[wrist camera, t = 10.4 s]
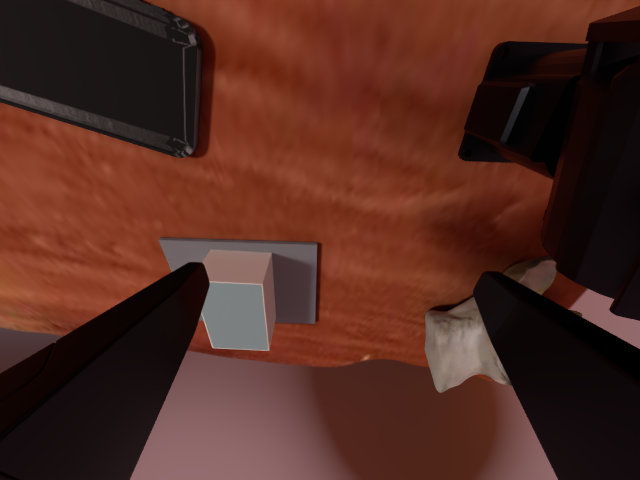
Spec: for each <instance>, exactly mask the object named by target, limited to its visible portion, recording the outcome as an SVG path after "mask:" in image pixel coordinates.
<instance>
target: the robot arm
mask: <svg viewBox="0 0 640 480" xmlns="http://www.w3.org/2000/svg"><path fill="white" fill-rule="evenodd" d="M585 41H589V42H588V44H574V43H545V42H515V41H508V42H503V43H500V44H498V45H497V46H496V47H495V48H494V50H493V52H492V54H491V57H490V60H489V63H488V66H487V69H486V72H485V75H484V78H483V81H482V83H481V84H480V85H479V86H478V88H477V91H476V94H475V97H474V100H473V103H472V106H471V109H470V112H469V115H468V118H467V121H466V124H465V127H464V129H465V134H464V137H463V140H462V143H461V146H460V149H459V152H458V156H459V158H460V159H462V160H464V161H485V162H515V163H517V164H519V165H522V166H524V167H526V168H528V169H530V170H533V171H535V172H537V173H539V174H541V175H544V176H546V177H548V178H550V179H552V180H554V181H553V186H552V190H551V194H550V198H549V202H548V206H547V210H546V211H545V213H544V217H543V221H544V223H543V227H542V231H541V239H542V246H543V248H544V249H545V250H546V251H547V253H548V254H549V255H550V257H551V258H552V259H553V260H554V261H555V262H556V265H555V268H556V270H557V271H559V272H560V273H562V274H563V275H565V276H566V277H568V278H569V279H571V280H572V281H574V282H576V283H577V284H579V285H582V286H584V287H586V288H588V289H590V290H592V291H594V292H597V293H599V294H601V295H604V296H607V297H610V298H613V299H614V301H613V303H612V305H611V307H610V309H609V310H610V311H611V312H612V313H613V314H615V315H617V316H621V317H626V318H630V319H635V320H639V321H640V6H638V7H635V8H633V9H630V10H627V11H624V12H621V13H618V14H615V15H612V16H609V17H606V18H603V19H600V20H597V21H594V22H591V23H590V24H589V28H588V32H587V36H586V40H585ZM503 48H505V54H504V56H503V57H502V58H501V57H500V52H501V50H502V49H503ZM467 150H470V151H469V153H468V154H467V155H466V156H465V152H466V151H467ZM209 286H210V282H209V278H208V275H207V272H206V268H205V265H204V264H203V263H202V262H188V263H186V264H185V265H183V266H181V267H180V268H178V269H176V270H175V271H173V272H171V273H170V274H168V275H166V276H165V277H163V278H161V279H159V280H158V281H156V282H154V283H153V284H151V285H149V286H148V287H146V288H144V289H143V290H141V291H139V292H138V293H136V294H134V295H133V296H131V297H129V298H127V299H126V300H124V301H122V302H121V303H119V304H117V305H116V306H114V307H112V308H111V309H109V310H107V311H106V312H104V313H102V314H101V315H99V316H97V317H95V318H94V319H92V320H90V321H89V322H87V323H85V324H84V325H82V326H80V327H79V328H77V329H75V330H74V331H72V332H70V333H69V334H67V335H65V336H63V337H62V338H60V339H58V340H57V341H56V343H52V344H50V345H48V346H47V347H45V348H43V349H42V350H40V351H38V352H37V353H35V354H33V355H31V356H30V357H28V358H26V359H25V360H23V361H21V362H19V363H18V364H16V365H14V366H12V367H11V368H9V369H8V370H6V371H4V372H2V373H1V374H0V480H130V478H131V476H132V473H133V471H134V469H135V467H136V464H137V462H138V460H139V457H140V455H141V453H142V451H143V449H144V446H145V444H146V442H147V439H148V437H149V435H150V433H151V431H152V428H153V426H154V424H155V421H156V419H157V417H158V415H159V412H160V410H161V408H162V406H163V403H164V401H165V399H166V396H167V394H168V392H169V390H170V388H171V385H172V383H173V381H174V379H175V376H176V374H177V372H178V370H179V367H180V365H181V363H182V360H183V358H184V356H185V354H186V351H187V349H188V347H189V345H190V342H191V340H192V338H193V335H194V333H195V331H196V328H197V325H198V322H199V319H200V315H201V312H202V309H203V306H204V303H205V300H206V296H207V293H208V290H209ZM473 295H474V299H475V301H476V304H477V307H478V310H479V312H480V315H481V318H482V320H483V323H484V326H485V329H486V331H487V334H488V336H489V339H490V341H491V343H492V345H493V348H494V350H495V352H496V354H497V356H498V358H499V360H500V362H501V364H502V366H503V368H504V370H505V372H506V374H507V376H508V378H509V380H510V382H511V384H512V386H513V388H514V390H515V393H516V395H517V397H518V399H519V401H520V403H521V405H522V407H523V409H524V411H525V413H526V415H527V417H528V419H529V421H530V423H531V425H532V427H533V429H534V431H535V433H536V435H537V438H538V440H539V442H540V444H541V446H542V448H543V450H544V452H545V454H546V456H547V458H548V460H549V462H550V464H551V466H552V468H553V470H554V472H555V474H556V476H557V478H558V480H640V349H638V348H636V347H635V346H633V345H631V344H629V343H628V342H625V341H624V340H622V339H620V338H618V337H617V336H615V335H613V334H611V333H609V332H608V331H606V330H604V329H602V328H600V327H598V326H597V325H595V324H593V323H591V322H589V321H587V320H586V319H584V318H582V317H580V316H579V315H577V314H575V313H573V312H571V311H569V310H568V309H566V308H564V307H562V306H560V305H559V304H557V303H555V302H553V301H551V300H550V299H548V298H546V297H544V296H542V295H540V294H539V293H537V292H535V291H533V290H531V289H530V288H528V287H526V286H524V285H522V284H520V283H519V282H517V281H515V280H513V279H511V278H510V277H508V276H506V275H504V274H502V273H500V272H497V271H485V272H483V273H482V275H481V276H480V278H479V280H478V282H477V284H476V286H475V288H474V290H473Z"/></svg>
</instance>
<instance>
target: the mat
mask: <svg viewBox="0 0 640 480" xmlns="http://www.w3.org/2000/svg"><path fill="white" fill-rule="evenodd" d="M159 242H160V245H161V247H162V249H163V252H164V254H165V257H166V259H167V261H168V264H169V266H170V269H171V271H172V272H173V271H175V270H176V269H178V268H180V267H181V266H183V265H185V264H186V263H188V262H203V260H204V259H205V257H206V256H207V254H208V253H209V251H210V250H211V249H213V250H231V251H249V252H267V253H272V264H273V279H274V294H275V309H276V320H275V323H303V324H315V308H316V270H317V242H287V241H256V240H224V239H192V238H160V239H159ZM199 320H203V317H202V314H201V315H200V319H199Z"/></svg>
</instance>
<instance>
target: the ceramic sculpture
mask: <svg viewBox="0 0 640 480" xmlns="http://www.w3.org/2000/svg"><path fill="white" fill-rule="evenodd" d="M555 265H556V262H555V261H554V260H553V259H552V258H551V257H550V255H549V256H544V257H538V258H535V259H531V260H527V261H525V262H522V263H518V264H515V265H513V266H511V267H509V268H508V269H507V270H505V271H504V272H503V273H502V274H504V275H506V276H508V277H510V278H511V279H513V280H515V281H517V282H519V283H520V284H522V285H524V286H526V287H528V288H530V289H531V290H533V291H535V292H537V293H539V294H540V295H542V294H543V292H544V291H546V290H547V289H548V288H549V287H550V286H551V285H552V284H553V282H554V280H555V276H556V274H557V270H556V268H555ZM569 311H571V312H573V313H575V314H577V315H579V316H580V317H581V316H582V314H581V313H579V312H577V311H572V310H569ZM425 323H426V341H425V352H426V356H427V359H428V363H429V367H430V370H431V373H432V376H433V380H434V384H435V387H436V389H437V391H438V392H441V393H442V392H444V391H446V390H447V389H448V388H452V387H454V386H458V385H460V384H461V383H462V382H463V381H464V380H466V379H467V378H469V377H471V376H473V375H476V374H485V375H487V376H489V377H491V378H492V379H494V380H495V381H497V382H498V383H500V384H508V385H511V386H512V384H511V382H510V380H509V378H508V376H507V374H506V372H505V370H504V368H503V366H502V364H501V362H500V360H499V358H498V356H497V354H496V352H495V350H494V348H493V345H492V343H491V341H490V339H489V336H488V334H487V331H486V329H485V326H484V323H483V320H482V318H481V315H480V312H479V310H478V307H477V304H476V301H475V299H474V297H472V298H470V299H469V300H467V301H466V302H464V303H462V304H460V305H458V306H456V307H455V308H453V309H451V310H449V311H446V312H440V311H436V310H429V311H427V312H426V315H425Z"/></svg>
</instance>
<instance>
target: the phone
mask: <svg viewBox="0 0 640 480" xmlns="http://www.w3.org/2000/svg"><path fill="white" fill-rule="evenodd" d="M202 56H203V49H202V42H201V39H200V36H199V34H198V33H197V31H196V29H195V28H194V27H193V26H192V25H191V24H190V23H189V22H188V21H186V20H184V19H183V18H180V17H178V16H175V15H173V14H170V13H168V12H165V9H163V8H160V7H158V6H155V5H153V4H152V6H151V5H148V4H146V3H143V2H142V0H0V102H2V103H5V104H8V105H11V106H14V107H18V108H21V109H24V110H27V111H30V112H34V113H37V114H40V115H43V116H46V117H50V118H53V119H56V120H59V121H62V122H66V123H69V124H72V125H75V126H78V127H82V128H85V129H88V130H91V131H94V132H98V133H101V134H104V135H107V136H110V137H114V138H117V139H120V140H123V141H126V142H130V143H133V144H136V145H139V146H142V147H146V148H149V149H152V150H155V151H158V152H162V153H165V154H168V155H171V156H174V157H179V158H184V157H187V156H189V155H190V154H192V153H194V152H195V151H196V149H197V147H198V138H199V118H200V97H201V77H202Z"/></svg>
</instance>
